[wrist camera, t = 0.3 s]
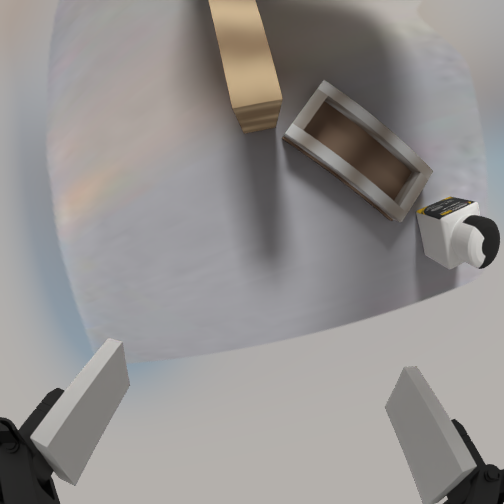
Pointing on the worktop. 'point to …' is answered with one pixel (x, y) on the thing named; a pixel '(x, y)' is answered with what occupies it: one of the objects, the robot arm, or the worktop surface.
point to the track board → (359, 151)
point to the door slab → (247, 64)
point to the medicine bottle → (458, 233)
